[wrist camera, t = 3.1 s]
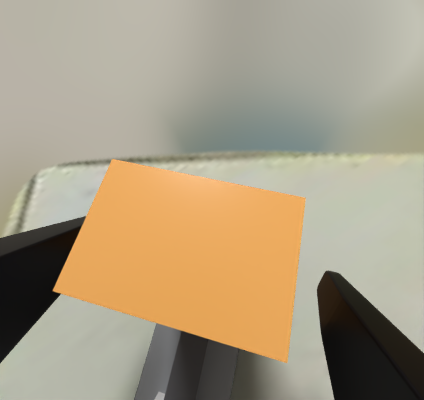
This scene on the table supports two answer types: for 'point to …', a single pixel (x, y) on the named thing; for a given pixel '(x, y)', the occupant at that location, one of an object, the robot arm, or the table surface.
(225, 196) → the orange block
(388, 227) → the table surface
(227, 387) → the grey pronged base
